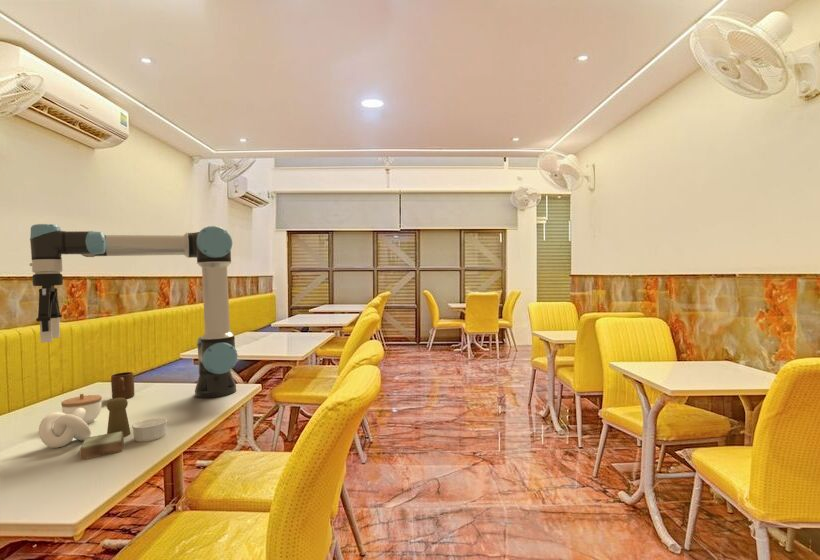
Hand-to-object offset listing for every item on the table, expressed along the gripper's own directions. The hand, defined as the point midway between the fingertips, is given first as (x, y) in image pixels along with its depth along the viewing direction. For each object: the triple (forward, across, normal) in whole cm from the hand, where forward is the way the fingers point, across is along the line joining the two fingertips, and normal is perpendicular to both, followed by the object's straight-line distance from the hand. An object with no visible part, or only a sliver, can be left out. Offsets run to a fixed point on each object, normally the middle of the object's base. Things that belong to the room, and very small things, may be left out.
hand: (50, 340), depth 145 cm
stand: (+28, +34, +15) cm, 47 cm away
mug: (+28, -28, +17) cm, 44 cm away
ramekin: (+28, +30, +26) cm, 49 cm away
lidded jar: (+28, 0, +7) cm, 29 cm away
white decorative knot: (+28, +21, +6) cm, 36 cm away
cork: (+28, +22, +18) cm, 40 cm away
